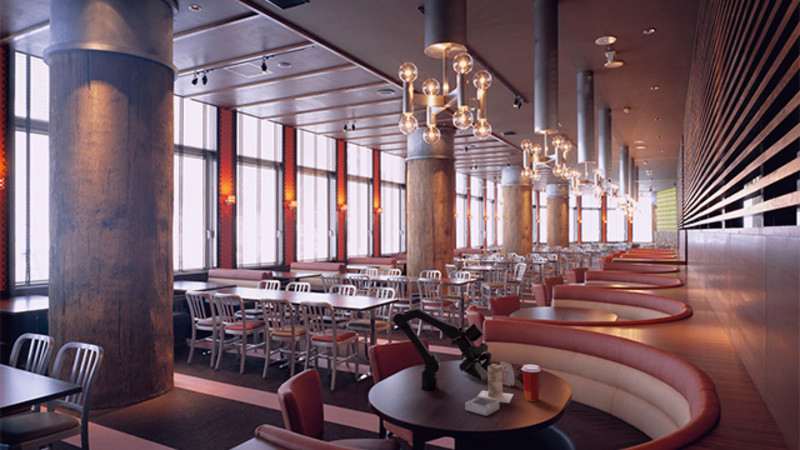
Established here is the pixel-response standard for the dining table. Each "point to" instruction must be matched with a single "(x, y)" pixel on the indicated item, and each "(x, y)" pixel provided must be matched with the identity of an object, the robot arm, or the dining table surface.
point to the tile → (505, 398)
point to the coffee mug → (480, 370)
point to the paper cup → (531, 382)
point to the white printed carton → (507, 374)
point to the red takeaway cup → (519, 373)
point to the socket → (482, 405)
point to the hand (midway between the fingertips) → (487, 377)
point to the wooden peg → (495, 381)
